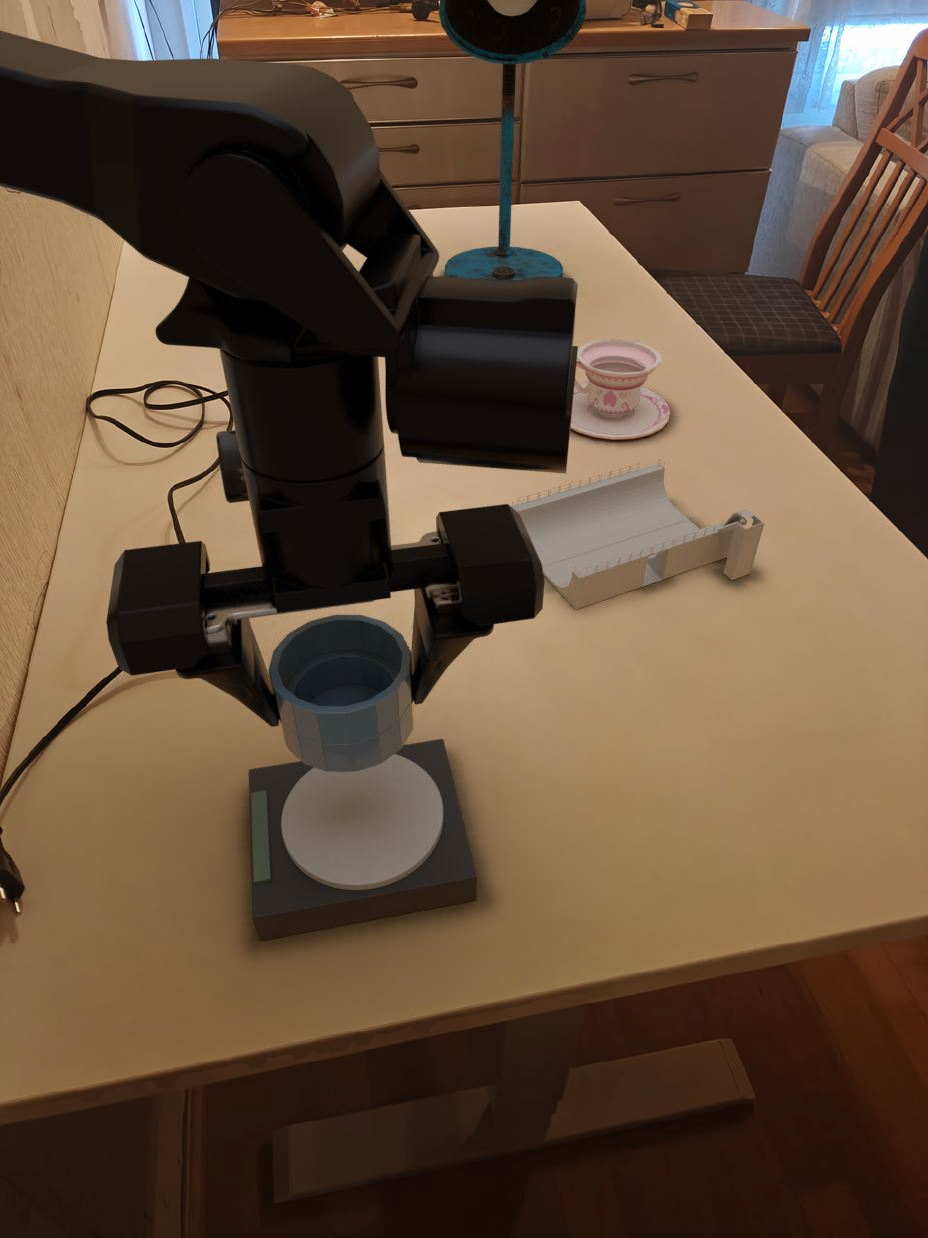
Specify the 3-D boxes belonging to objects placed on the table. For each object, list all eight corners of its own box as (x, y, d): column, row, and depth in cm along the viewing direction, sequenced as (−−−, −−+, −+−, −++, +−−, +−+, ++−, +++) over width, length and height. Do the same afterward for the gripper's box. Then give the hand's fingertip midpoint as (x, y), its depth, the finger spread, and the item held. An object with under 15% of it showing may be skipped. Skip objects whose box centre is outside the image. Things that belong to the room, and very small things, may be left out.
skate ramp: (653, 492, 79) (661, 443, 76) (750, 574, 70) (764, 522, 67) (509, 536, 74) (511, 486, 71) (594, 630, 65) (601, 577, 62)
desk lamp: (438, 318, 108) (429, -169, 78) (447, 255, 125) (442, -167, 95) (567, 319, 108) (607, -169, 78) (559, 257, 124) (590, -167, 94)
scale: (259, 941, 47) (250, 912, 45) (254, 793, 54) (246, 762, 52) (476, 900, 49) (477, 871, 47) (443, 762, 56) (443, 731, 54)
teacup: (664, 387, 94) (673, 333, 90) (674, 444, 86) (685, 386, 81) (553, 383, 95) (557, 328, 91) (552, 439, 86) (557, 381, 82)
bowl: (258, 754, 45) (241, 687, 41) (325, 667, 50) (315, 600, 46) (377, 797, 43) (370, 730, 39) (435, 702, 47) (433, 635, 44)
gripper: (493, 339, 42) (487, 588, 52) (90, 375, 39) (168, 631, 50) (559, 458, 34) (536, 724, 44) (56, 515, 31) (158, 785, 41)
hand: (347, 708), depth 45 cm, fingers closed on bowl, 7 cm apart
